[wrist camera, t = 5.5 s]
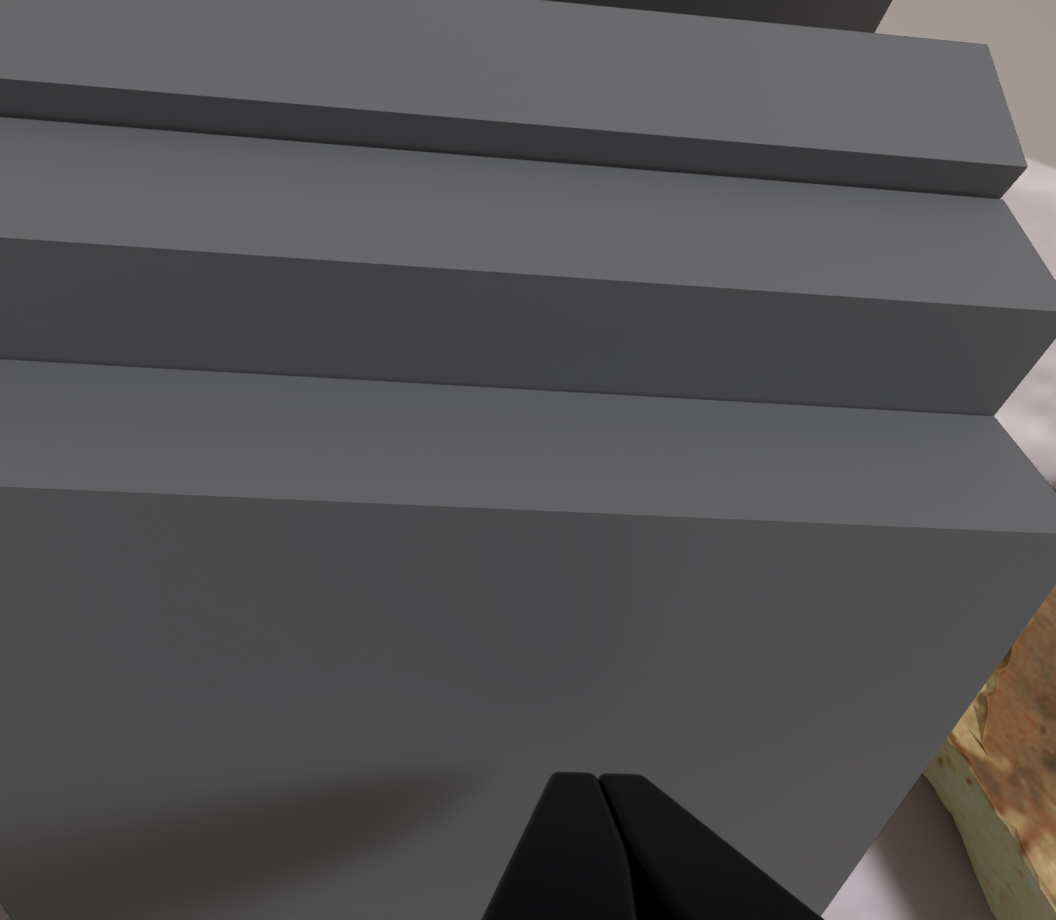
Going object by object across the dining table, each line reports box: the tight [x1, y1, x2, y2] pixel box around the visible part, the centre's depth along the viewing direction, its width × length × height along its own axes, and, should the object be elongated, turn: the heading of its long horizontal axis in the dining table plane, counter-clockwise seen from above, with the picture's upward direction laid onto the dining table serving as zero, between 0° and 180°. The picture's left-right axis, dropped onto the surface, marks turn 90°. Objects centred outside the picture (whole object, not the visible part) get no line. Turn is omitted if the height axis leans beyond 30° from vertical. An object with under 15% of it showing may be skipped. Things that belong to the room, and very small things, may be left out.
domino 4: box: [545, 0, 892, 33], centre depth 14 cm, size 2×10×10 cm, turn 89°
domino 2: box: [0, 117, 1056, 416], centre depth 11 cm, size 2×10×10 cm, turn 88°
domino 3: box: [0, 0, 1028, 199], centre depth 12 cm, size 2×10×10 cm, turn 89°
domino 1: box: [0, 359, 1056, 920], centre depth 10 cm, size 2×10×10 cm, turn 87°
